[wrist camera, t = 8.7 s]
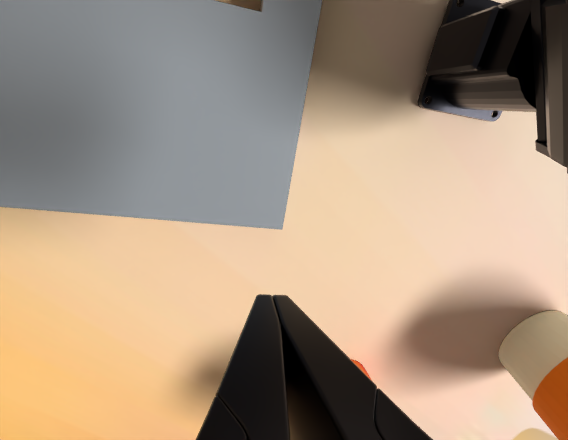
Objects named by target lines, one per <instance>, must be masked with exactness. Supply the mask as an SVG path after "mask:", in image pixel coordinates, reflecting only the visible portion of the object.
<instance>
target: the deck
mask: <svg viewBox="0 0 568 440" xmlns="http://www.w3.org/2000/svg"><path fill="white" fill-rule="evenodd" d="M321 5H322V0H261V7H260V12H259V11H255V10H251V9H247V8H243V7H239V6H235V5H231V4H227V3H223V2H219V1H215V0H0V207H10V208H23V209H35V210H47V211H60V212H72V213H84V214H97V215H109V216H121V217H134V218H146V219H158V220H171V221H183V222H195V223H208V224H220V225H232V226H245V227H257V228H269V229H282V228H283V222H284V217H285V211H286V205H287V199H288V194H289V188H290V182H291V176H292V171H293V165H294V159H295V154H296V148H297V142H298V136H299V131H300V125H301V119H302V113H303V108H304V102H305V96H306V91H307V85H308V79H309V73H310V68H311V62H312V56H313V50H314V45H315V39H316V33H317V28H318V22H319V16H320V10H321Z"/></svg>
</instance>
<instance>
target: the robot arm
mask: <svg viewBox="0 0 568 440" xmlns="http://www.w3.org/2000/svg"><path fill="white" fill-rule="evenodd" d="M459 2H460V3H459V7H458V6H457V4H456V3H457V0H450V1H449V3H448V6H447V9H446V13H445V16H444V19H443V22H442V25H441V27H440V28H439V31H438V34H437V37H436V40H435V44H434V47H433V50H432V53H431V56H430V60H429V63H428V66H427V69H426V76H425V79H424V83H423V86H422V89H421V92H420V95H419V99H418V105H419V106H420V107H421V108H424V109H429V110H434V111H439V112H444V113H450V114H455V115H460V116H465V117H470V118H475V119H480V120H485V121H495V120H497V119H498V118H499V117H500V115H501V113H502V111H523V112H536V116H537V134H538V139H537V140H536V141H535V143H536V150H537V151H538V152H540V153H542V154H544V155H546V156H548V157H550V158H551V159H553V160H554V161H556V162H558V163H559V164H561V165H563V166H565V167H567V173H568V0H511V1H509V2H506V3H503V4H501V3H498V2H494V1H491V0H459ZM426 97H428V102H427V103H426V104H425V99H426ZM492 112H493V115H492ZM491 115H492V116H491ZM196 440H433V439H432V438H431V437H429V436H428V435H427V434H426V433H425V432H424V431H423V430H422V429H421V428H420V427H418V426H417V425H416V424H415V423H414V422H413V421H412V420H411V419H410V418H409V417H408V416H407V415H406V414H405V413H404V412H403V411H402V410H401V409H400V408H399V407H398V406H397V405H395V404H394V403H393V402H392V401H391V400H390V399H389V398H388V397H387V396H386V395H385V394H384V393H383V392H382V391H381V390H380V389H377V386H376V385H375V384H374V383H373V382H372V381H371V380H370V379H369V378H368V377H367V376H366V375H365V374H364V373H363V372H362V371H361V369H360V368H359V367H358V366H357V365H356V364H355V363H354V362H353V361H352V360H351V359H350V358H349V357H348V356H347V355H346V354H345V353H344V352H343V351H342V350H341V349H340V348H339V347H338V346H337V345H336V344H335V343H334V342H333V341H332V340H331V339H330V338H329V337H328V336H327V335H326V334H325V333H324V332H323V331H322V330H321V329H320V328H319V327H318V326H317V325H316V324H315V323H314V322H313V321H312V320H311V319H310V318H309V317H308V316H307V315H306V314H305V313H304V312H303V311H302V310H301V309H300V308H299V307H298V306H297V305H296V304H295V303H294V302H293V301H292V300H291V299H290V298H289V297H288V296H286V295H273V296H271V295H262V294H259V295H257V296H256V299H255V301H254V303H253V306H252V308H251V311H250V313H249V315H248V318H247V320H246V323H245V325H244V328H243V330H242V332H241V335H240V337H239V340H238V342H237V344H236V347H235V349H234V352H233V354H232V356H231V359H230V361H229V364H228V366H227V369H226V371H225V373H224V376H223V378H222V381H221V383H220V385H219V388H218V390H217V393H216V397H214V399H213V402H212V404H211V406H210V409H209V411H208V414H207V416H206V418H205V420H204V422H203V425H202V427H201V429H200V431H199V434H198V436H197V438H196Z"/></svg>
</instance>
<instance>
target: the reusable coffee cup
mask: <svg viewBox="0 0 568 440" xmlns="http://www.w3.org/2000/svg"><path fill="white" fill-rule="evenodd" d="M499 360H500V362H501V363H502V364H503V366H504V367H505V368H506V369H507V371H508V372H509V373H510V374H511V375H512V377H513V378H514V379H515V380H516V381H517V383H518V384H519V385H520V386H521V388H522V389H523V390H524V391H525V392H526V394H527V395H528V396H529V397H530V398H531V400H532V401H533V407H534V410H535V411H536V412H537V413H538V415H539V416H540V417H541V418H542V420H543V421H544V422H545V423H546V425H547V426H548V427H549V428H550V430H551V431H552V432H553V433H554V435H555V436H556V437H557V438H558V439H559V440H568V315H566V314H564V313H562V312H560V311H553V310H552V311H544V312H541V313H538V314H535V315H533V316H531V317H529V318H527V319H525V320H524V321H522V322H521V323H519V324H518V325H517V326H516V327H515V328H513V329H512V330H511V331H510V332H509V334H508V335H507V336H506V337H505V339H504V340H503V342H502V344H501V346H500V349H499Z"/></svg>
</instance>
